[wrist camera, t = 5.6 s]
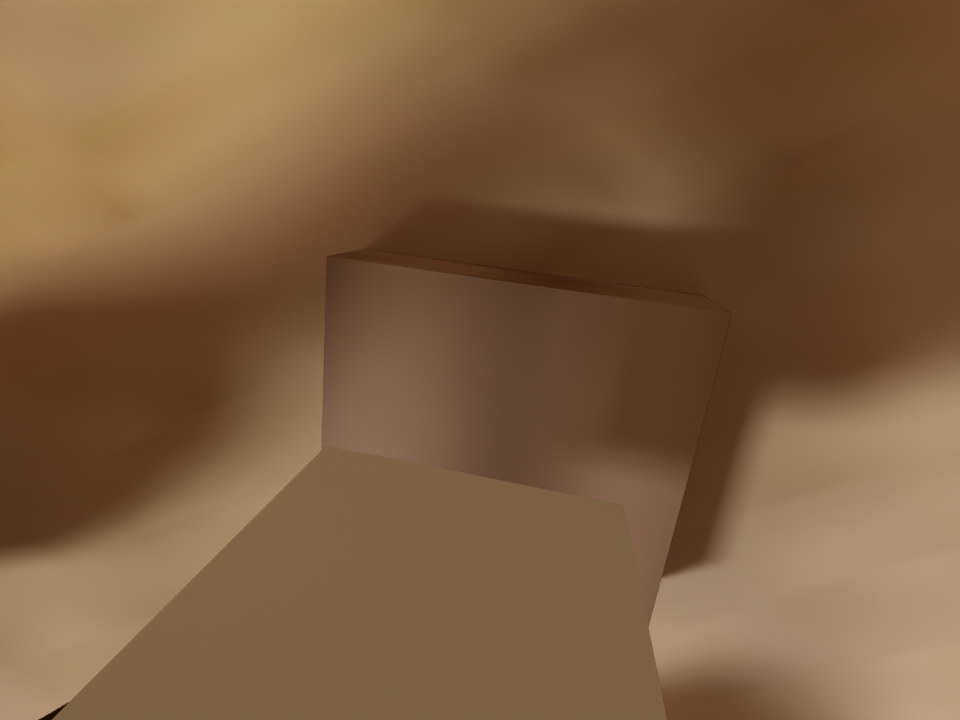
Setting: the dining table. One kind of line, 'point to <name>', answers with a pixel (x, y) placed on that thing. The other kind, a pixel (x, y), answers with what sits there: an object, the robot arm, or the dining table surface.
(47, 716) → the robot arm
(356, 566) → the sage cube
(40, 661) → the dining table surface
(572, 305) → the walnut board
